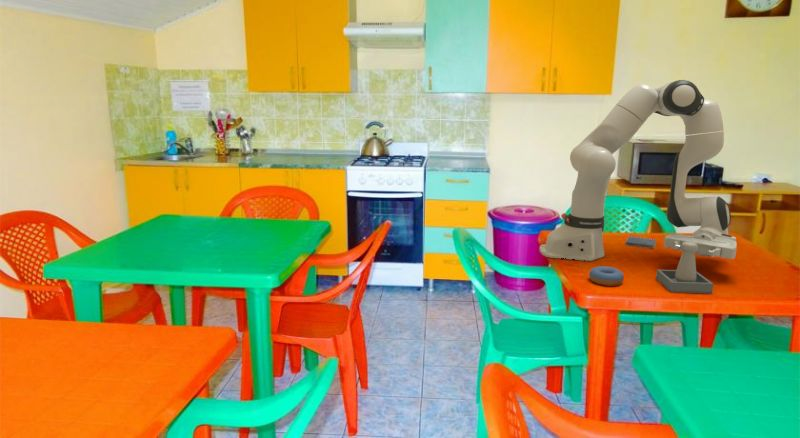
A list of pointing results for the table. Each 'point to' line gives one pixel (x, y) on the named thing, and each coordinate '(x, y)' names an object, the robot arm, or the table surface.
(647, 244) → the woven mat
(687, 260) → the salt shaker
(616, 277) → the doughnut
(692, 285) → the tray
